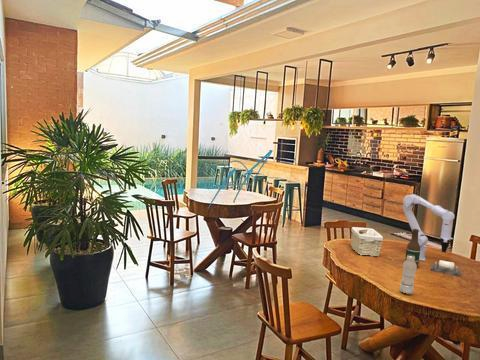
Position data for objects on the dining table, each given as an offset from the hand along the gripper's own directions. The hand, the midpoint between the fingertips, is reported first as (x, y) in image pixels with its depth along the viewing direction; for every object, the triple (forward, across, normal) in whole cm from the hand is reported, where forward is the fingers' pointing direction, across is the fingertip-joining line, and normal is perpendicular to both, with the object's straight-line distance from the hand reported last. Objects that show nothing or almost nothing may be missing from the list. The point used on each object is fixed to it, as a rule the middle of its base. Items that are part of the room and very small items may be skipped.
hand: (443, 250), depth 237 cm
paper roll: (+8, -13, -2) cm, 16 cm away
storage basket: (+10, -6, +48) cm, 49 cm away
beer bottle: (+10, -18, +17) cm, 27 cm away
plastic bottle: (+10, -67, +16) cm, 70 cm away
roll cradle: (+9, -13, -2) cm, 16 cm away
